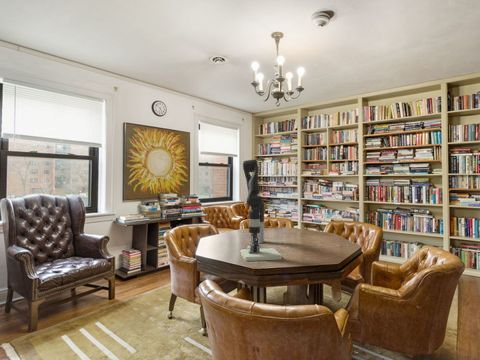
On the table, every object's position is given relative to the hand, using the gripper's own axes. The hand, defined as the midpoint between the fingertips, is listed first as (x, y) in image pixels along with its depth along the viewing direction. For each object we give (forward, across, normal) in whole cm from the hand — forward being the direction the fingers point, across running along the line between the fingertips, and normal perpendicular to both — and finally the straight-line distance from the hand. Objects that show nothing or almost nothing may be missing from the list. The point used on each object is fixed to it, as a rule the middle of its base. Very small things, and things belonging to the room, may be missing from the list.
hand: (254, 250), depth 189 cm
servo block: (+1, 0, 0) cm, 1 cm away
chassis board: (+4, 0, +4) cm, 5 cm away
